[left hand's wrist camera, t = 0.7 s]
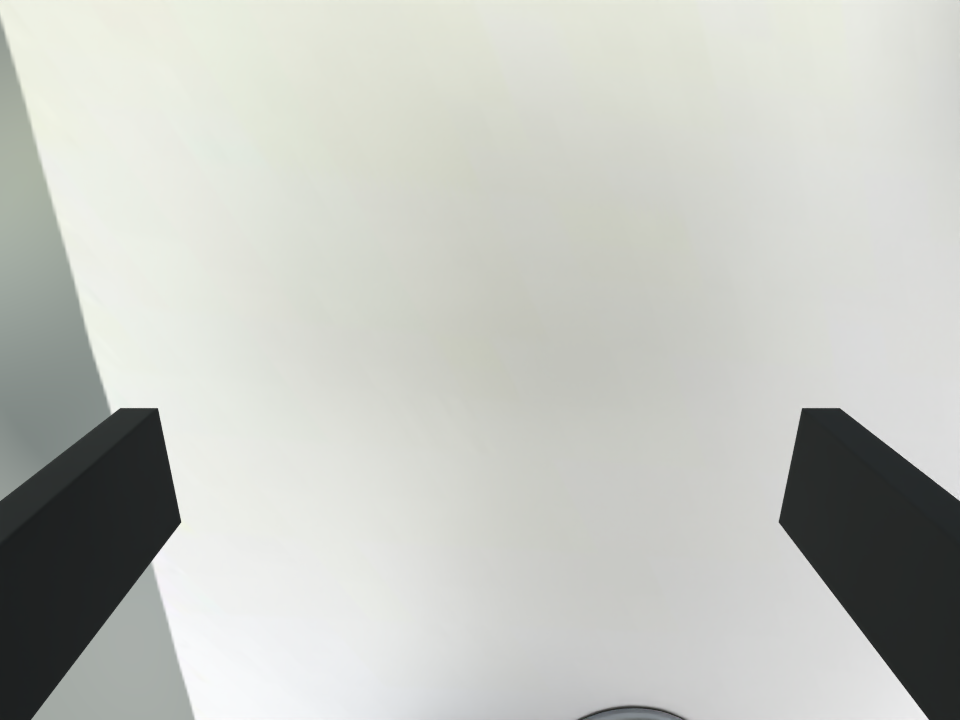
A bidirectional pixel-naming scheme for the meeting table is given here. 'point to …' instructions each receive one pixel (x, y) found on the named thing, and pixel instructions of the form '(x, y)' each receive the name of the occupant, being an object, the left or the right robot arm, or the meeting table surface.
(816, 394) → the meeting table surface
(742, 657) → the meeting table surface
